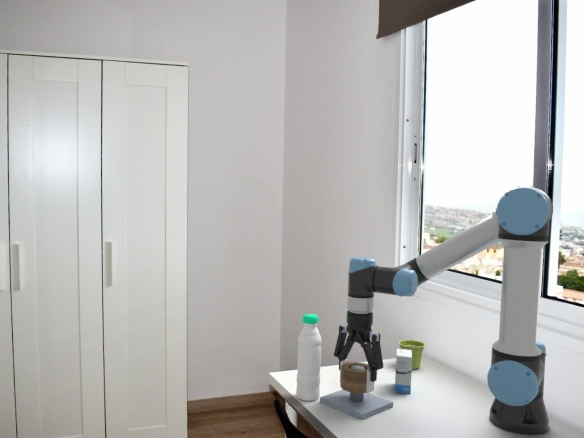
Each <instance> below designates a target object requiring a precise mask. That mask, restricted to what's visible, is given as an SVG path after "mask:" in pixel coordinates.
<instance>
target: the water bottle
mask: <svg viewBox="0 0 584 438" xmlns="http://www.w3.org/2000/svg"><path fill="white" fill-rule="evenodd" d="M319 319H320V318H319V316H318V315H317V314H315V313H307V314H303V316H302V324H303V328H302V329H301V331H300V333H299V335H298V338H297V341H298V347H297V359H296V360H297V362H296V363H297V373H296V374H297V375H296V389H295V390H296V391H295V393H296V394H295V395H296V397H297V399H299V400H300V401H303V402H304V401H305V402H313V401H316V400H318V399H320V397H321V396H320V394H321V392H320V390H321V389H320V384H321V374H320V373H321V364H322V345H321V344H322V336H321V334H320V330H319V329H318V324H319Z"/></svg>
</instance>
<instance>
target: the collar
mask: <svg viewBox="0 0 584 438" xmlns="http://www.w3.org/2000/svg"><path fill="white" fill-rule="evenodd" d="M354 365H359V366H363V367H364V368H365V370H361V371H358V370H352V369H351V366H354ZM368 369H370V368H369V365H368V363H366V362H358V361H351V362H349V361H348V363H345V364H343V365H342V366H341V383H340V382H339V383H340V385H339V387H340V388H341V390H345V391H348V392H352V393H367V392H366V386H367V370H368Z"/></svg>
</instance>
